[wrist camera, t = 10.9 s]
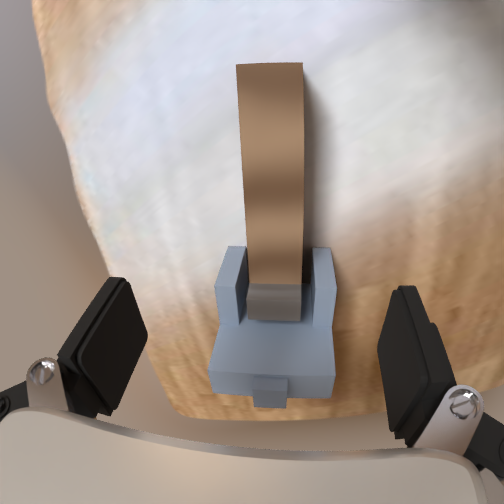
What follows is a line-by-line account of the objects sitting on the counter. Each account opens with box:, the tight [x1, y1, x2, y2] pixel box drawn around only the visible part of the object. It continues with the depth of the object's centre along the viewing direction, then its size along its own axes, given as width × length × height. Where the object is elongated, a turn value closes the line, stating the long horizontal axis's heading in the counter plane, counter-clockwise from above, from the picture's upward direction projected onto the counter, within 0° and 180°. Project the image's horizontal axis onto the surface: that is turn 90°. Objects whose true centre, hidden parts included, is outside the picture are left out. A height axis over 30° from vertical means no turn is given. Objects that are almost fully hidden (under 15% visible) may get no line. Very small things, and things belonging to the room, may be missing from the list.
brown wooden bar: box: [236, 63, 304, 321], centre depth 23 cm, size 18×4×7 cm, turn 3°
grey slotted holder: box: [208, 246, 337, 408], centre depth 26 cm, size 7×9×12 cm
